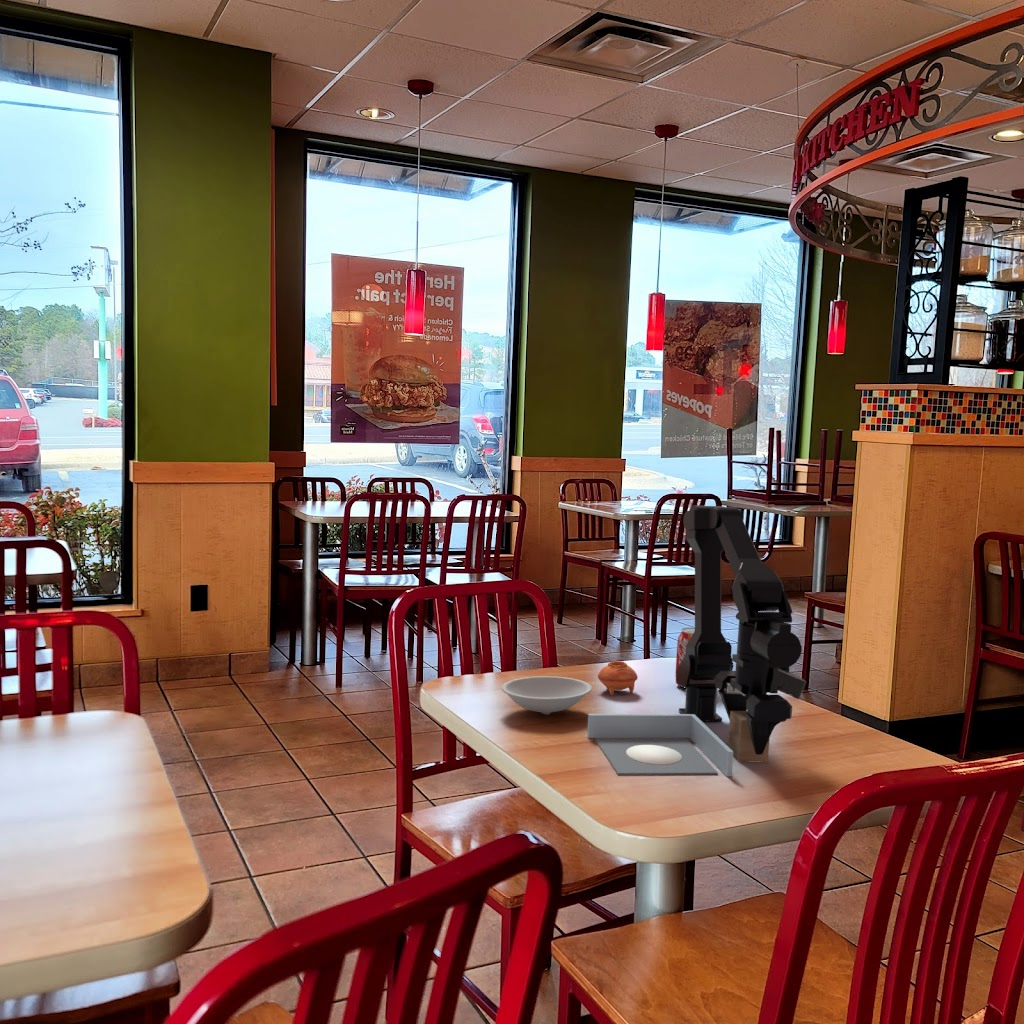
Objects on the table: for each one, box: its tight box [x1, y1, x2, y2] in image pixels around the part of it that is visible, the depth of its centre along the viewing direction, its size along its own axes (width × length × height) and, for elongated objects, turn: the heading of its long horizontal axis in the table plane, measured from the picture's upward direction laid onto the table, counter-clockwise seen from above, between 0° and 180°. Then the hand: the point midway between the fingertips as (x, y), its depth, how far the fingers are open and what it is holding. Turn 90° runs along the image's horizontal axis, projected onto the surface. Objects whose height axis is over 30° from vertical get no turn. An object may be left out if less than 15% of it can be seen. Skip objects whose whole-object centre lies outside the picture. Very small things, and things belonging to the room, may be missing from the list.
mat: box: [594, 738, 719, 776], centre depth 156 cm, size 16×16×1 cm
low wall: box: [586, 713, 734, 778], centre depth 157 cm, size 19×19×4 cm
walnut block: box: [727, 711, 770, 763], centre depth 158 cm, size 5×5×7 cm
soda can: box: [675, 627, 695, 688], centre depth 199 cm, size 7×7×12 cm
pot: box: [597, 660, 639, 696], centre depth 193 cm, size 8×8×7 cm
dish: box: [501, 675, 593, 715], centre depth 177 cm, size 18×14×5 cm
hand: (748, 744), depth 158 cm, fingers open, 9 cm apart
